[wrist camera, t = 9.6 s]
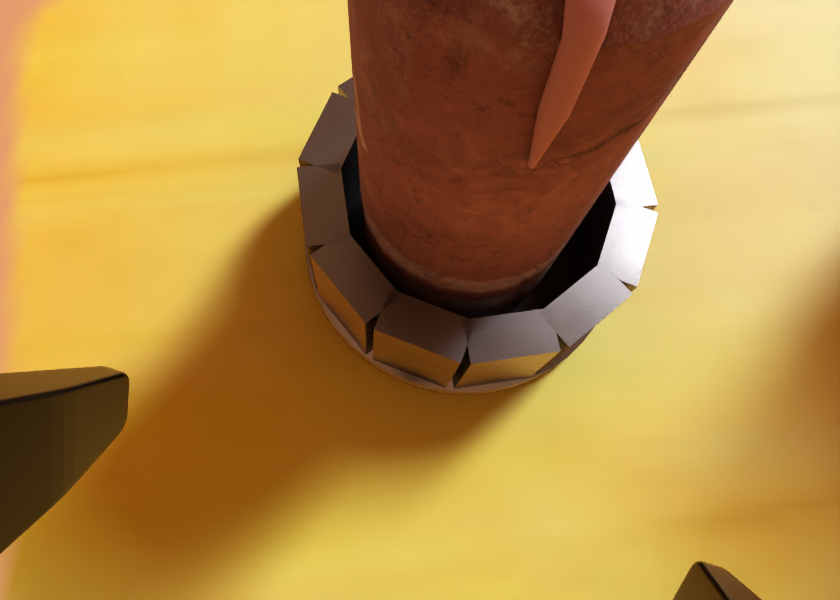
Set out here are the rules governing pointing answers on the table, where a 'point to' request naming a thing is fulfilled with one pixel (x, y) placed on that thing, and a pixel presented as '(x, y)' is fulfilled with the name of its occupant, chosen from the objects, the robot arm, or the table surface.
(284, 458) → the table surface
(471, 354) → the collar
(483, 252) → the can
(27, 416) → the robot arm
